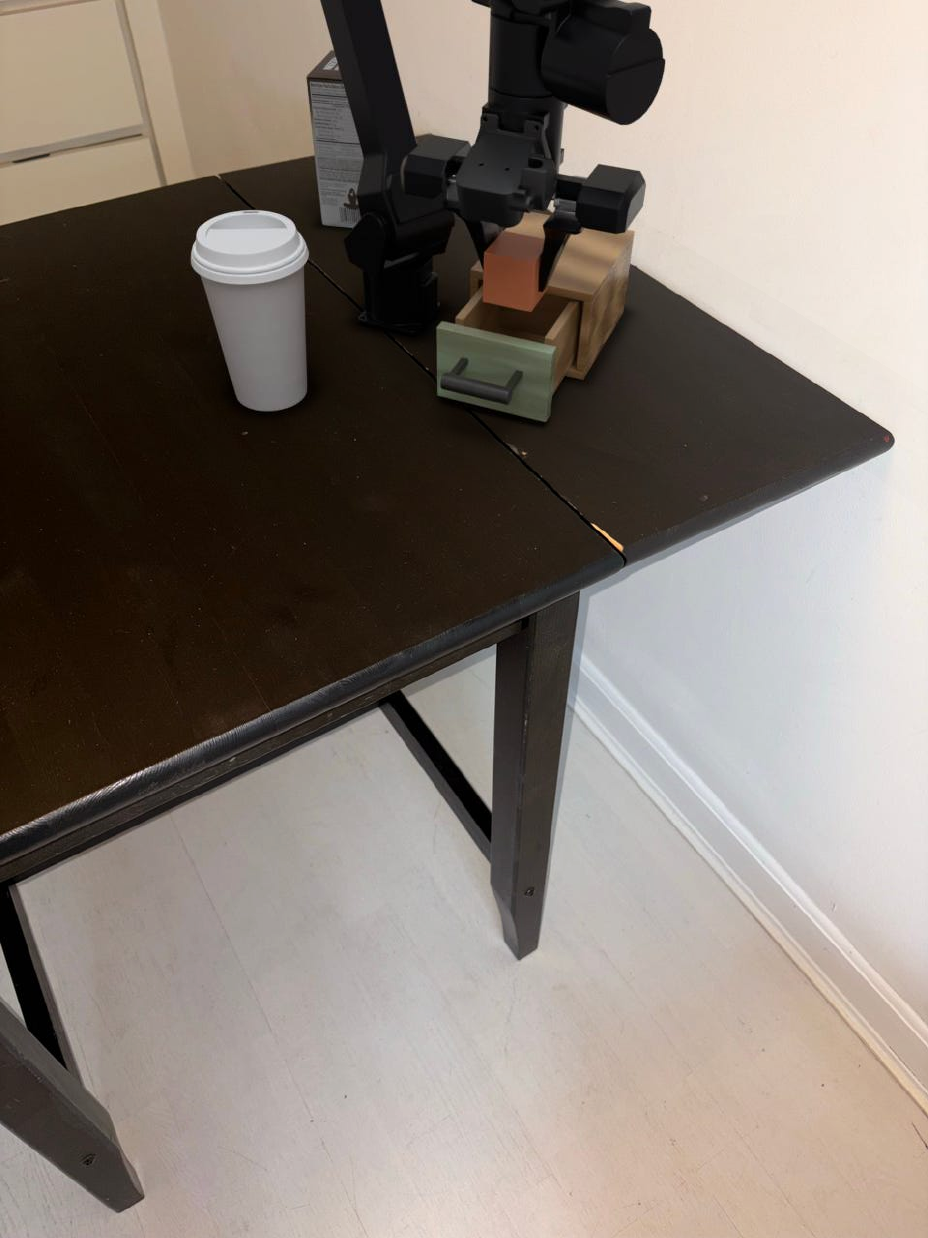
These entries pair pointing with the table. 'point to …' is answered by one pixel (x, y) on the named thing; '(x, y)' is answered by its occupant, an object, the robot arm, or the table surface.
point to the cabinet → (583, 282)
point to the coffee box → (334, 145)
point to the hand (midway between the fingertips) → (516, 284)
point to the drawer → (508, 354)
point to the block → (513, 271)
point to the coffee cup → (257, 303)
